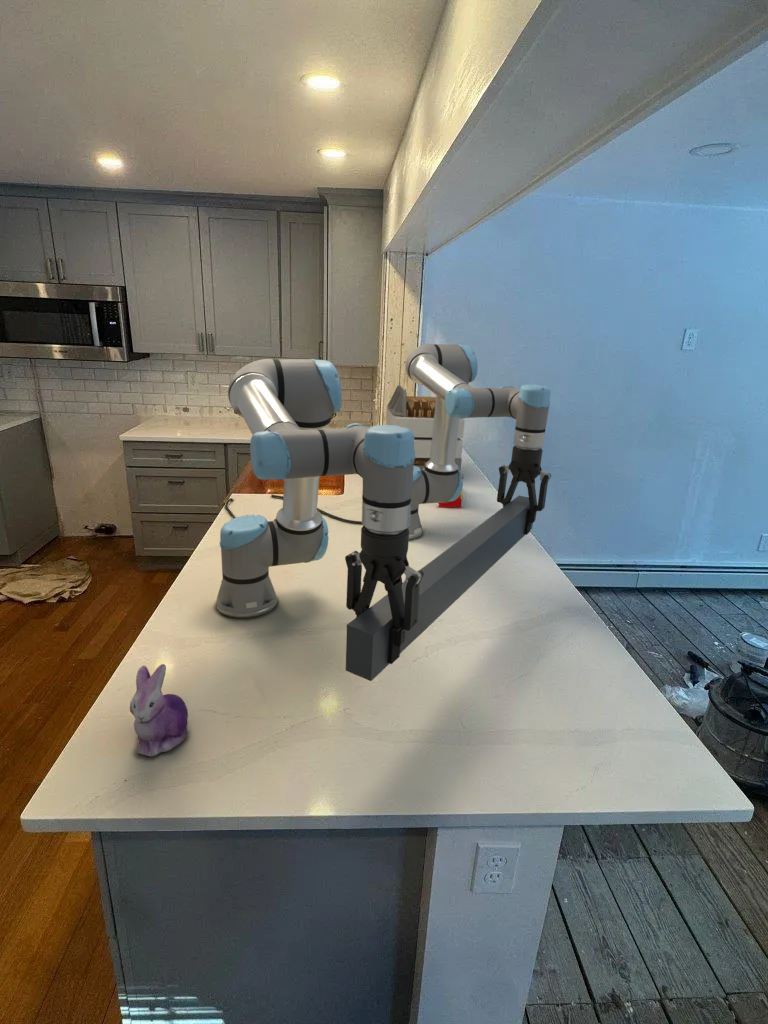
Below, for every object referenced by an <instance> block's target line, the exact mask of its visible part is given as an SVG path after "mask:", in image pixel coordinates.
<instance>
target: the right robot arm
mask: <svg viewBox="0 0 768 1024" xmlns="http://www.w3.org/2000/svg"><path fill="white" fill-rule="evenodd" d="M478 367H479V365H478V359H477V356H476V353H475V351H474V350H473V348H472V347H470V346H469V345H467V344H466V345H465V344H458V343H455V344H454V343H452V344H451V343H450V344H449V343H448V344H447V343H446V344H443V343H439V344H438V343H435V344H434V343H426V344H422V345H419V346H417V347H415V348H414V349H413V350H412V351H410V352H409V354H408V356H407V358H406V360H405V371H406V374H407V376H408V378H409V379H410V380H412V382H414V383H415V384H417V385H418V386H419V385H420V386H424V387H425V388H427V390H429V391H430V392H431V393H433V394H434V395H435V397H436V404H435V414H434V424H433V434H432V444H431V454H430V460H429V461H427V462H426V463H425V466H424V468H423V470H422V469H421V467H420V466H414V469H413V481H412V494H411V511H410V525H409V527H408V529H409V541H410V540H415V539H418V538H420V537H421V536H422V535H423V525H422V524H421V518H420V515H419V507H420V506H419V505H423V504H439V503H441V502H442V503H446V502H450V501H454V500H456V499H457V498H458V497H459V496H460V494H461V491H462V488H463V489H464V475H463V476H462V474H463V473H462V470H461V471H460V470H458V466H457V464H456V463H455V454H456V445H457V437H458V429H459V420H460V418H462V419H473V418H474V419H475V418H511V419H514V420H515V426H514V436H513V445H514V446H512V452H511V458H510V460H511V461H510V463H509V464H507V465H505V464H502V465H501V466H499V467H498V472H499V473H498V474H499V480H498V486H497V487H498V488H497V496H496V502H497V503H500V504H502V508H503V507H504V506H506V505H507V504H508V503H510V502H511V501H512V500H513V496H514V495H515V493H516V490H517V487H518V484H519V483H521V482H523V483H524V484H526V485H525V486H526V488H527V494H528V495H527V497H529V504H530V510H528V511H527V516H526V523H525V531H524V534H525V536H527V535H528V534H530V532H531V530H530V528H531V523H533V524H534V523H535V522H536V518H537V513H538V512H541V511H543V510H544V509H545V506H546V499H547V493H548V485H549V484H548V483H549V481H550V479H551V478H552V474H551V473H550V472H548V473H547V472H545V471H543V469H542V465H541V463H542V457H543V451H544V450H543V447H544V445H545V438H546V437H545V435H546V428H547V424H548V423H547V422H548V418H549V417H548V416H549V411H550V406H551V401H550V399H551V389H550V387H549V386H546V385H540V384H523V385H521V386H520V389H519V388H517V387H514V386H512V385H511V386H506V385H502V386H499V387H474V386H472V385H470V383H472V382H474V381H475V380H476V378H477V375H478V370H479V368H478ZM508 473H510V474H511V475H512V479H511V480H510V484H509V486H508V489H507V492H506V488H507V482H508V481H507V480H508ZM537 477H539V480H540V485H539V493H538V500H537V492H536V491H537V489H536V478H537ZM462 478H463V480H462ZM462 492H463V491H462ZM270 497H271V498H276V499H282V500H283V495H277V494H271V495H270ZM317 510H318V511H319V512H320V513H321V514H323V515H325V516H328V517H330V518H333V519H335V520H338V521H341V522H345V523H350V524H358V525H363V524H362V520H352V519H346V518H343V517H339V516H337V515H334V514H331V513H329V512H328V511H327V512H326V511H325V510H322V509H320V508H319V507H317Z"/></svg>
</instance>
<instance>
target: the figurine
mask: <svg viewBox="0 0 768 1024" xmlns="http://www.w3.org/2000/svg"><path fill="white" fill-rule="evenodd" d="M166 672H167V665H166V664H164V663H161V664H160V665H159V666H157V668H156V669H155V670H154V671H153V673H152V674H151V673H150V671H149V668H148V667H147V666H146V665H141V666H140V667H139V668H138V670H137V672H136V679H135V686H136V688H135V689H136V690H135V693H134V695H133V696H132V699H131V700H130V704H129V711H130V714H131V715H132V716H133V717H134V722H133V730H134V732H135V734H136V736H137V738H138V739H137V740H138V743H137V747H136V750H137V753H138V754H140V755H144V756H147V757H156V756H157V755H159V754H160V753H167V752H170V751H171V750H173V749H174V748H175V747H177V746H178V745H180V744H181V743H182V742H183V741H184V740H185V739H186V738H187V734H188V722H189V721H188V718H189V711H188V707H187V704H186V702H185V701H184V700H183V698H182V697H181V696H179V695H178V694H174V693H166V694H163V692H162V687H163V684H164V680H165V677H166Z"/></svg>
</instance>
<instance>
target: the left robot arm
mask: <svg viewBox="0 0 768 1024" xmlns="http://www.w3.org/2000/svg"><path fill="white" fill-rule="evenodd" d="M342 392H343V391H342V386H341V380H340V376H339V374H338V370H337V368H336V367H335V365H334V364H333V363H332V362H331V361H329V360H327V359H315V358H307V359H306V358H277V359H276V358H275V359H273V358H264V359H263V358H262V359H257V360H255V361H252V362H249V363H247V364H245V365H244V366H242V367H241V368H240V369H239V370H237V371H236V372H235V373H234V375H233V376H232V378H231V380H230V381H229V384H228V389H227V396H228V401H229V403H230V406H231V408H232V410H233V411H234V412H235V413H236V414H237V415H238V416H239V417H241V418H243V419H244V421H245V423H246V425H247V427H248V430H249V431H250V433H251V434H252V435H251V437H250V441H249V442H250V443H249V451H250V452H249V453H250V454H249V455H250V463H251V467H252V471H253V472H252V473H253V475H254V477H256V478H257V479H259V480H263V481H264V480H265V481H267V480H275V481H283V493H282V496H283V499H282V507H281V508H280V509H279V510H278V511H277V513H276V517H275V519H276V521H274V520H271V521H268V519H267V517H265V516H264V515H261V514H256V515H255V514H245V515H241V516H235V514H233V512H232V511H231V510H230V508H229V507H228V504H229V503H230V502H233V501H234V499H233V498H228V499H227V500H226V502H225V504H224V507H225V510H226V511H227V512H228V514H230V516H231V517H232V519H230V520H228V521H227V522H225V523H224V524H223V525H222V527H220V532H219V534H220V535H219V536H220V537H219V547H220V555H221V557H220V558H221V575H222V578H221V579H222V580H221V583H220V586H219V589H218V593H217V597H216V608H217V610H218V612H219V613H220V614H222V615H224V616H226V617H230V618H233V619H234V618H236V619H250V618H256V617H260V616H263V615H265V614H267V613H270V612H271V611H272V610H274V608H275V607H276V605H277V600H278V599H277V592H276V590H275V588H274V585H273V583H272V579H271V578H270V572H269V571H270V570H269V569H270V568H271V567H278V566H279V567H280V566H287V565H295V564H302V563H304V564H308V563H311V562H316V561H320V560H321V559H322V558H324V556H325V555H326V553H327V550H328V545H329V527H328V523H327V520H326V519H325V518H324V517H323V515H322V513H321V512H319V511H318V510H317V508H318V502H319V488H320V477H333V476H335V477H336V476H346V475H347V476H348V475H358V476H359V477H360V478H362V496H361V500H362V502H361V505H362V506H361V521H362V524H361V525H362V527H361V528H360V549H361V550H360V552H359V551H358V550H354V551H352V552H351V553H349V554H347V555H346V556H344V561H345V564H346V568H347V580H346V603H345V605H346V608H347V609H348V610H349V611H351V610H352V611H353V612H354V613H355V615H356V617H358V616H359V615H360V614H362V613H363V612H364V611H366V610H367V609H368V608H370V607H371V603H372V600H373V597H374V594H375V590H376V588H377V584H378V582H380V583H382V584H383V585H384V590H385V591H386V592H387V594H388V598H389V603H390V609H391V614H392V620H393V626H392V627H391V628H390V629H389V645H388V663H389V665H392V664H394V663H395V662H396V661H397V660H398V659H399V658H400V656H401V653H400V646H401V645H402V644H403V643H404V642H405V634H406V630H407V631H409V630H410V629H411V628H412V627H414V626H415V625H416V624H417V622H418V606H419V589H420V582H421V580H422V578H423V576H424V573H423V571H421V570H420V569H418V570H416V569H414V568H412V567H411V566H410V563H409V560H408V551H409V542H410V540H409V529H408V527H409V525H410V511H411V494H412V481H413V469H414V460H415V450H414V434H413V432H412V431H411V430H410V429H408V428H405V427H400V426H395V425H387V424H379V425H372V426H370V425H368V424H364V423H359V422H354V423H353V422H352V423H349V424H347V425H345V426H343V427H341V428H326V427H328V426H329V425H330V424H331V421H332V414H336V413H339V412H340V411H341V408H342V404H343V395H342V394H343V393H342ZM363 567H364V570H365V572H364V576H363V580H362V572H363ZM403 575H405V580H404V581H405V582H406V583H407V585H406V590H405V604H404V598H403V592H402V583H403V577H402V576H403ZM362 582H363V584H362ZM356 617H355V618H356Z"/></svg>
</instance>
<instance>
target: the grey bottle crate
mask: <svg viewBox="0 0 768 1024" xmlns="http://www.w3.org/2000/svg"><path fill="white" fill-rule="evenodd" d="M407 394H408V393H407V390H406V389H404V388H403V387H402V385H399V384H398V385H397V386H396V388H395V390H394V392H393V394H392V395H391V398H390V400H389V402H388V404H387V405H386V413H385V414H386V415H385V423H386V425H395V426H400V427H405V428H408V429H410V430H411V431H412V432H413V434H414V450H415V460H414V466H416V467H425V463H426V462H427V461H429V460H430V454H431V444H432V434H433V424H434V414H435V404H436V396H415V395H414V396H413V395H412V396H411V395H407ZM464 429H465V418H460V420H459V429H458V437H457V445H456V454H455V463H456V464H457V466H458V470H460V471H461V472H462V461H463V460H462V453H463V442H464V441H463V440H462V439H463V438H464V431H465V430H464Z"/></svg>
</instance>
